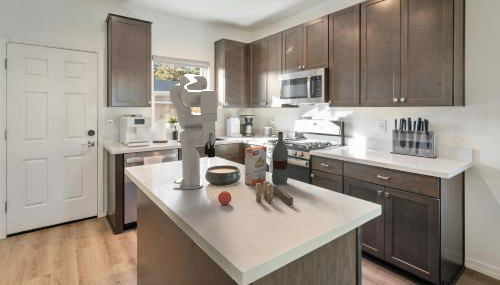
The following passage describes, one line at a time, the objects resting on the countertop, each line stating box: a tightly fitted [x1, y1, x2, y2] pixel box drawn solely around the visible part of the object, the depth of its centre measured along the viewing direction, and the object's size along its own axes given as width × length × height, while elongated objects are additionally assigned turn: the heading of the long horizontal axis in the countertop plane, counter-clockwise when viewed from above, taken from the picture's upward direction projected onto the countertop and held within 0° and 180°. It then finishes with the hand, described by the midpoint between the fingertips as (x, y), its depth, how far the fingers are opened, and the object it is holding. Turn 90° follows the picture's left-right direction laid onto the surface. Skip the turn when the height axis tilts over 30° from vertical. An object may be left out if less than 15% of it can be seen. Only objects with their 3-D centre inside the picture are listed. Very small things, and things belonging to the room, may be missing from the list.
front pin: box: [255, 182, 262, 203], centre depth 132 cm, size 2×2×8 cm
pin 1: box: [263, 180, 270, 201], centre depth 136 cm, size 2×2×8 cm
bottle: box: [271, 131, 289, 186], centre depth 163 cm, size 9×9×30 cm
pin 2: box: [266, 183, 273, 204], centre depth 131 cm, size 2×2×8 cm
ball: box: [217, 190, 232, 205], centre depth 128 cm, size 6×6×6 cm
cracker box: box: [244, 145, 268, 186], centre depth 165 cm, size 14×6×21 cm, turn 143°
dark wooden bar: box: [273, 185, 294, 207], centre depth 135 cm, size 2×20×4 cm, turn 14°
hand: (209, 155), depth 128 cm, fingers open, 9 cm apart
